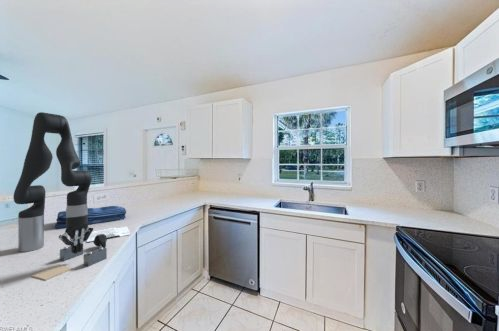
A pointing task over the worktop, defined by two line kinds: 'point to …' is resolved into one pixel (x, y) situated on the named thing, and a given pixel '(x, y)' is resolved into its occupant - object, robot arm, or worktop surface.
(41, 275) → the mat
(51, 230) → the worktop surface
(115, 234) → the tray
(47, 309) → the worktop surface
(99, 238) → the power plug
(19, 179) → the robot arm
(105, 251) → the metal blocks
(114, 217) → the towel
